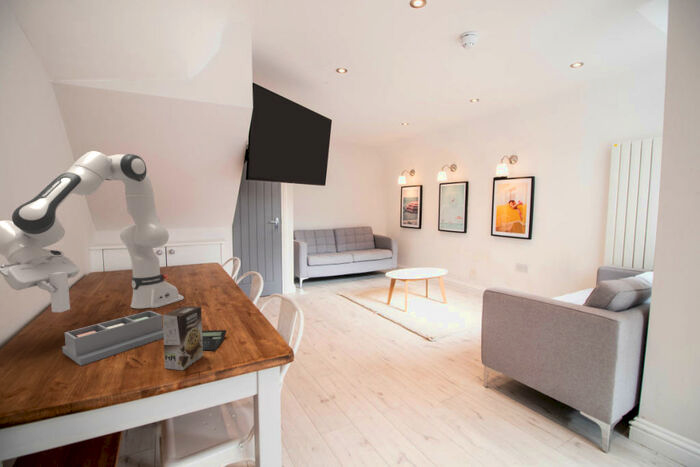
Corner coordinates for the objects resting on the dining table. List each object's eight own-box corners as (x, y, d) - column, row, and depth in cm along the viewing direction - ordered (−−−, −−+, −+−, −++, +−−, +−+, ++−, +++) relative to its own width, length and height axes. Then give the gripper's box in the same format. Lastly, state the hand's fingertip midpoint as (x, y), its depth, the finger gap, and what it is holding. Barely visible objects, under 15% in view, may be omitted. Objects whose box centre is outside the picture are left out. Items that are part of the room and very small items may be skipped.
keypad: (146, 327, 122) (145, 308, 121) (167, 336, 113) (166, 316, 113) (62, 352, 101) (60, 330, 101) (80, 365, 92) (78, 341, 92)
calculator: (185, 353, 101) (185, 344, 101) (199, 338, 112) (199, 330, 112) (215, 352, 102) (214, 343, 101) (226, 337, 113) (226, 329, 113)
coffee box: (183, 370, 89) (180, 316, 88) (164, 368, 91) (161, 314, 89) (204, 356, 98) (202, 306, 97) (186, 354, 100) (184, 305, 98)
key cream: (122, 328, 110) (121, 323, 110) (128, 331, 108) (127, 325, 107) (106, 333, 106) (106, 327, 106) (112, 336, 104) (111, 330, 104)
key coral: (94, 336, 103) (93, 330, 103) (99, 339, 101) (99, 333, 101) (76, 341, 100) (76, 335, 99) (82, 345, 97) (81, 338, 97)
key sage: (146, 321, 117) (146, 316, 117) (152, 324, 114) (152, 318, 114) (133, 325, 113) (132, 320, 113) (139, 328, 110) (138, 322, 110)
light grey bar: (61, 309, 107) (58, 271, 106) (70, 309, 107) (67, 271, 106) (51, 312, 104) (48, 273, 103) (60, 312, 104) (57, 273, 103)
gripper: (0, 259, 94) (33, 291, 94) (66, 250, 114) (93, 276, 115) (-12, 273, 95) (21, 305, 95) (55, 262, 115) (82, 288, 115)
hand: (61, 289), depth 105 cm, fingers closed on light grey bar, 3 cm apart
